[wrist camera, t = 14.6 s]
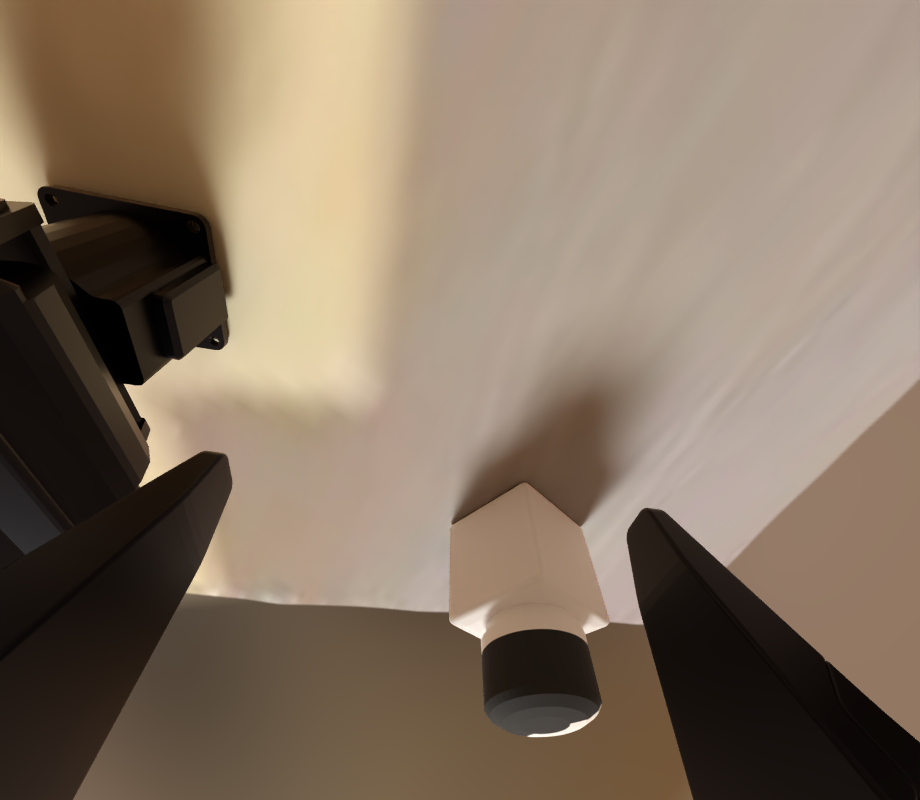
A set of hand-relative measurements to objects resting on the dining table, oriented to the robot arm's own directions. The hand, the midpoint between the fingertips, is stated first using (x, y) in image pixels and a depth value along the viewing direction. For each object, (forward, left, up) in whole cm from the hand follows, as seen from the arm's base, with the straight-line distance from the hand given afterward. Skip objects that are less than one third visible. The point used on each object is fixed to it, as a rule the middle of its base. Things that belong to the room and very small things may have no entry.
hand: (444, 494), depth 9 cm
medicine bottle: (+8, -17, -13) cm, 23 cm away
